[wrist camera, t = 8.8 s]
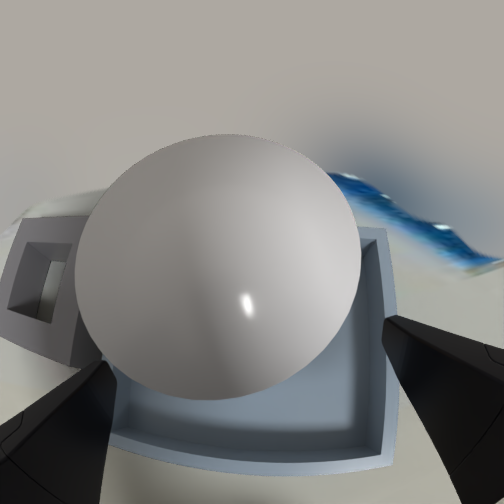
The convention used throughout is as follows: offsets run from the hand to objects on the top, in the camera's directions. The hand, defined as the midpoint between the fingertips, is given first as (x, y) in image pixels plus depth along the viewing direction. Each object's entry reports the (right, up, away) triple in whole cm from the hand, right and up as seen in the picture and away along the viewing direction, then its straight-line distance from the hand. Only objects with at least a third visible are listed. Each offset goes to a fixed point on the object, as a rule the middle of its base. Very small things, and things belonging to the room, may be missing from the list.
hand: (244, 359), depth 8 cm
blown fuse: (0, -2, +8) cm, 8 cm away
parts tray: (0, -3, +8) cm, 9 cm away
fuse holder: (-15, 0, +10) cm, 18 cm away
